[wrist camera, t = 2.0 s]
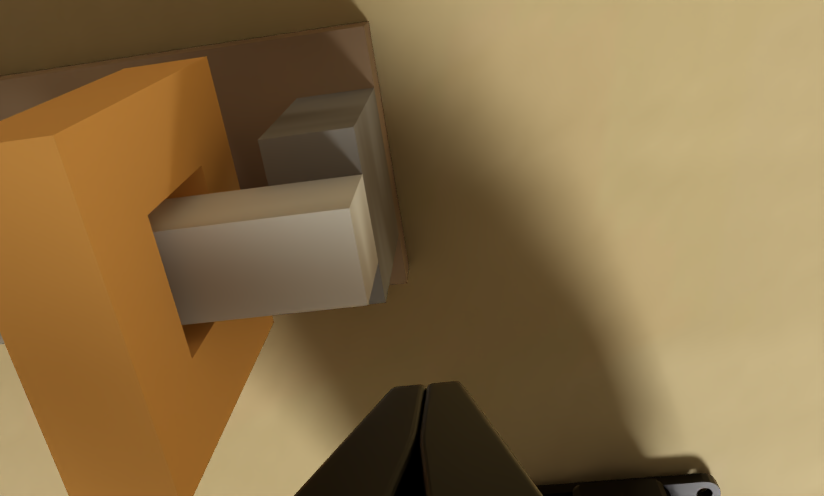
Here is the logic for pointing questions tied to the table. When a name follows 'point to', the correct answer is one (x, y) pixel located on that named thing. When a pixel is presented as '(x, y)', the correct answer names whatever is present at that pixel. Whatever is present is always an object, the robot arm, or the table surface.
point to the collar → (117, 280)
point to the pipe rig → (274, 177)
